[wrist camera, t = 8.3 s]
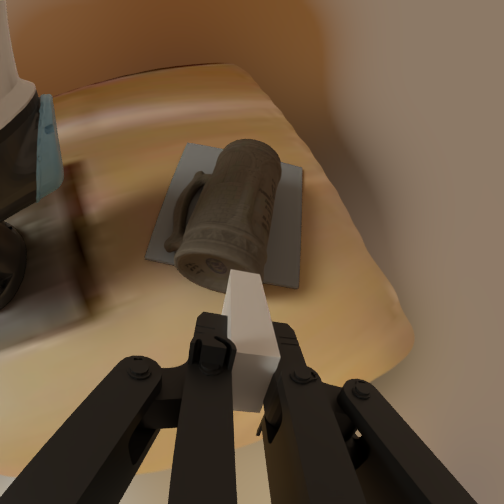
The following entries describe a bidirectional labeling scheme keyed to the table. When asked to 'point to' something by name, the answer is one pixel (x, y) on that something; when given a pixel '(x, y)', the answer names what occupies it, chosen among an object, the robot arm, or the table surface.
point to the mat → (282, 226)
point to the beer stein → (227, 216)
